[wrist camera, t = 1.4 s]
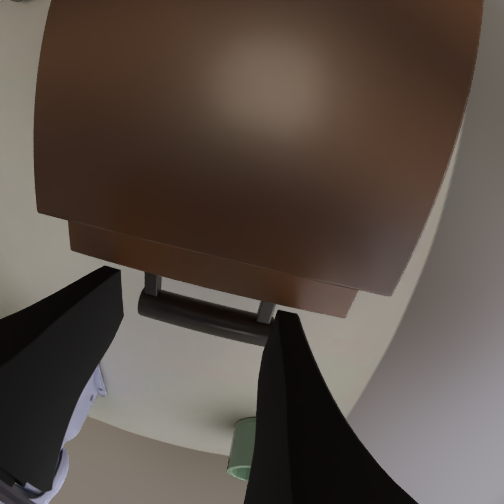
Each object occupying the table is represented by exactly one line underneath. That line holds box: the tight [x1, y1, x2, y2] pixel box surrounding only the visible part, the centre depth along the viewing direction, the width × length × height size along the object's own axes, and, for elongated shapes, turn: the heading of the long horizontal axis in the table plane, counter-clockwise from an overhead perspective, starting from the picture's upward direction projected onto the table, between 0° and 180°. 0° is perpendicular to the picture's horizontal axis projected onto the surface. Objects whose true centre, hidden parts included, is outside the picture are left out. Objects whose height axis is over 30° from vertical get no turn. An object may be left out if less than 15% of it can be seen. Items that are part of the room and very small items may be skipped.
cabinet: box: [34, 0, 484, 296], centre depth 8 cm, size 14×11×9 cm
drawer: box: [68, 221, 359, 347], centre depth 10 cm, size 17×9×7 cm, turn 168°
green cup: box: [226, 417, 256, 481], centre depth 26 cm, size 5×5×6 cm
